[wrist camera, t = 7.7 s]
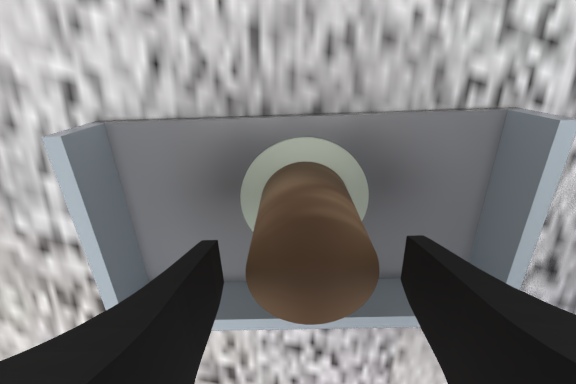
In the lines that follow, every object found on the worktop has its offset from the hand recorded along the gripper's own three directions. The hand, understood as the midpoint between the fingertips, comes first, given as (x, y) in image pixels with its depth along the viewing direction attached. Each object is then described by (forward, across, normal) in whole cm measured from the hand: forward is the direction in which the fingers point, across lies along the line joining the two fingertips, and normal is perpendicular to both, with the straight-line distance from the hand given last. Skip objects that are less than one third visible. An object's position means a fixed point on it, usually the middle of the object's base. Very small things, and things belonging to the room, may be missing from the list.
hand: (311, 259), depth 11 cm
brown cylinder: (+5, 0, 0) cm, 5 cm away
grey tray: (+6, 0, +1) cm, 6 cm away
